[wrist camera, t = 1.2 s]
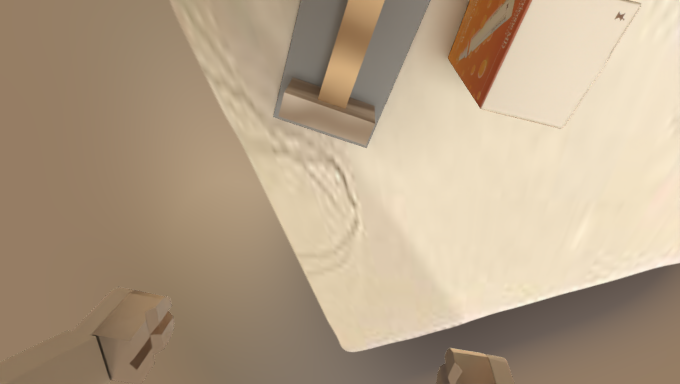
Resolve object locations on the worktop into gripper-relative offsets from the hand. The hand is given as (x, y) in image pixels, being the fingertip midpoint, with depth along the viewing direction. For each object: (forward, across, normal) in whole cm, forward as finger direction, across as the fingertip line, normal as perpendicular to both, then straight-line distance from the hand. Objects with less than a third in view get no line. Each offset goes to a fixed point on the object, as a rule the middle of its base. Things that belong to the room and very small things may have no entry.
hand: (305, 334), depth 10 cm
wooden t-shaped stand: (+30, +2, -5) cm, 30 cm away
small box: (+31, -11, -8) cm, 34 cm away
